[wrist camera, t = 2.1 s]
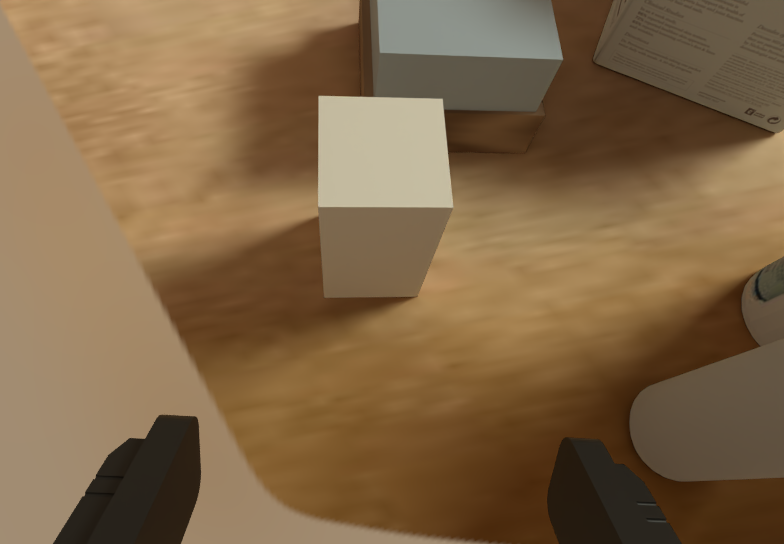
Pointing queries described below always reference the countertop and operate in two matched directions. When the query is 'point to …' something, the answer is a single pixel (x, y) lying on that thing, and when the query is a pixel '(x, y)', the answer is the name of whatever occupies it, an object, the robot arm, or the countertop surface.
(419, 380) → the countertop surface
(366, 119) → the cream block
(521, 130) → the walnut base block
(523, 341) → the countertop surface
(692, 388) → the beverage can
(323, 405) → the countertop surface
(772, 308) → the spray can
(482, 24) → the slate-blue top block
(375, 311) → the countertop surface
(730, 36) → the supplement box
